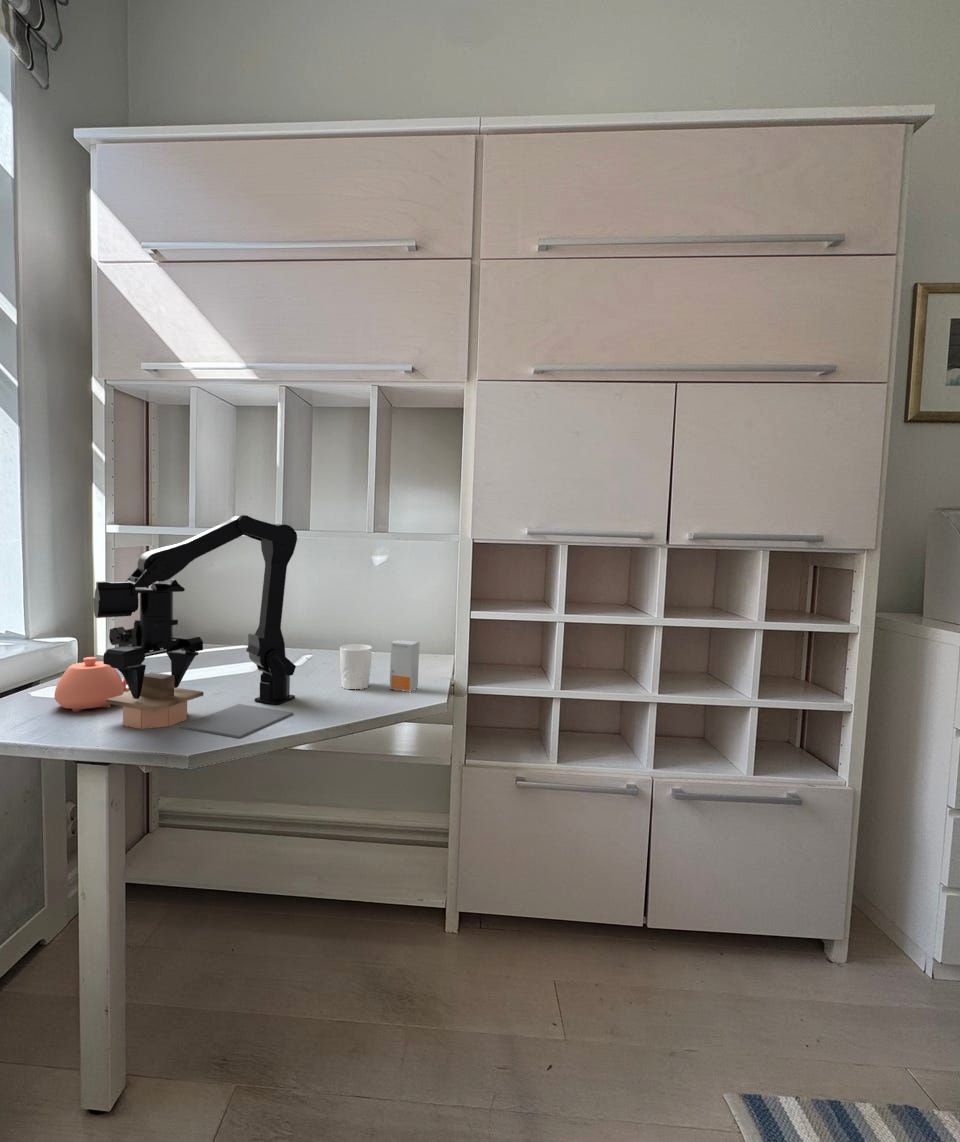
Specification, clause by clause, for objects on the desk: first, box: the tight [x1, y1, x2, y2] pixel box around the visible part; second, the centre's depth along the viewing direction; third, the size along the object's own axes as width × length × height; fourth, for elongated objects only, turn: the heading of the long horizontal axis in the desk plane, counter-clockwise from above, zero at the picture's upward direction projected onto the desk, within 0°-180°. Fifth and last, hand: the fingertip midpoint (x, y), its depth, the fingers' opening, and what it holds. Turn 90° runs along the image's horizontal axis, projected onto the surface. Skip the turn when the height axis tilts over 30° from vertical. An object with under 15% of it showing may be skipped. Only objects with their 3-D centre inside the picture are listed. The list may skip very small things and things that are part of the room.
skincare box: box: [389, 639, 420, 692], centre depth 146 cm, size 6×4×12 cm
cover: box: [106, 672, 204, 711], centre depth 117 cm, size 12×12×5 cm
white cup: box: [339, 643, 373, 691], centre depth 147 cm, size 8×8×10 cm
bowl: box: [122, 701, 188, 730], centre depth 117 cm, size 11×11×4 cm
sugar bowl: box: [53, 656, 131, 712], centre depth 125 cm, size 12×14×10 cm
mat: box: [179, 703, 294, 739], centre depth 118 cm, size 16×14×1 cm
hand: (156, 692), depth 117 cm, fingers open, 9 cm apart
